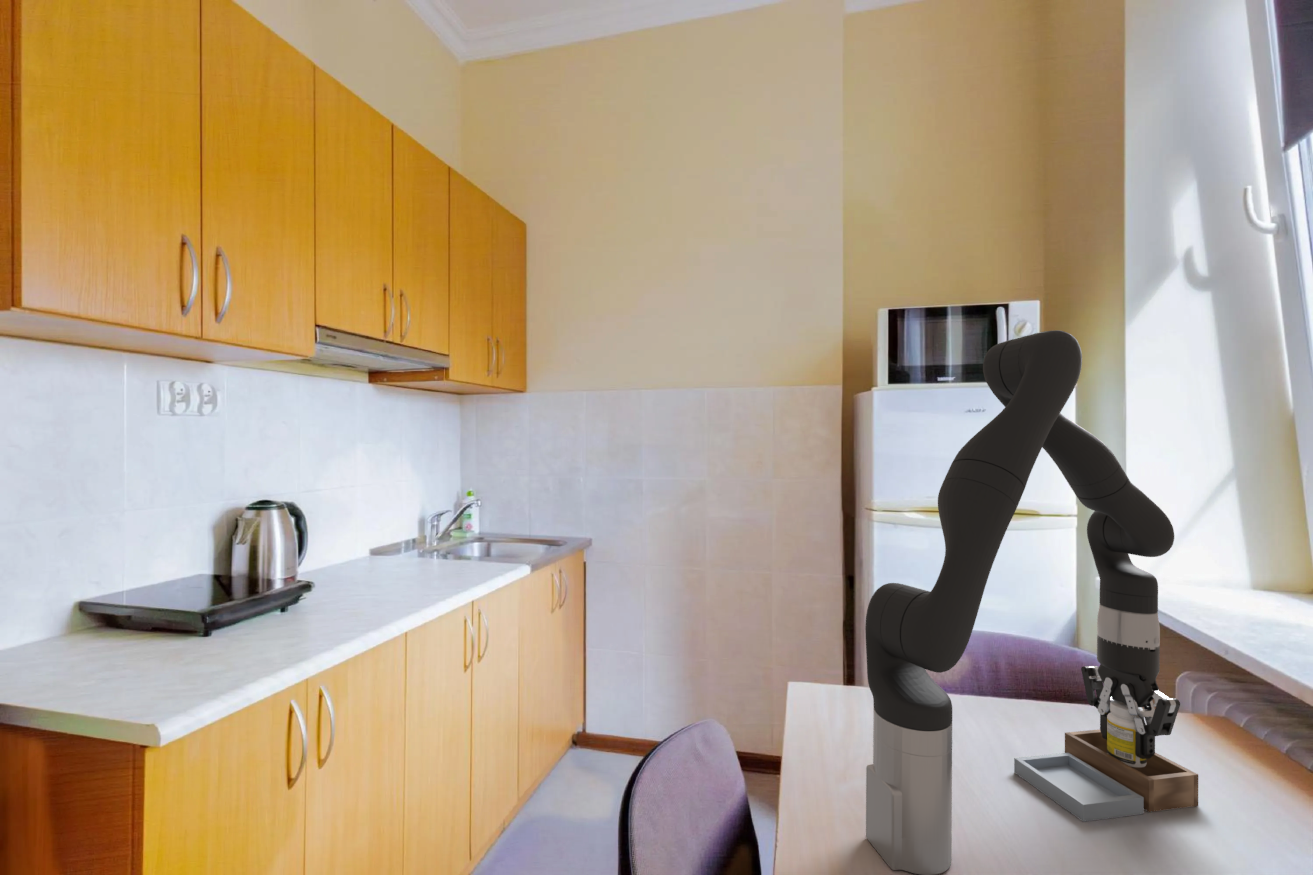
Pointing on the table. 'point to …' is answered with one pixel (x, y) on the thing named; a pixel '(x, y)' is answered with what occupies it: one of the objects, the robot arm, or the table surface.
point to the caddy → (1138, 773)
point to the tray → (1078, 786)
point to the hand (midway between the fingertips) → (1126, 747)
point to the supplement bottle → (1122, 735)
